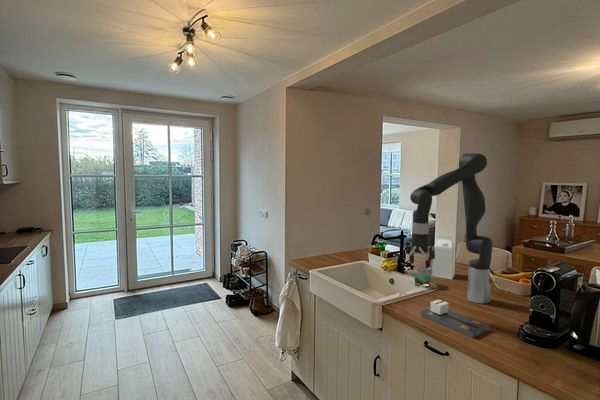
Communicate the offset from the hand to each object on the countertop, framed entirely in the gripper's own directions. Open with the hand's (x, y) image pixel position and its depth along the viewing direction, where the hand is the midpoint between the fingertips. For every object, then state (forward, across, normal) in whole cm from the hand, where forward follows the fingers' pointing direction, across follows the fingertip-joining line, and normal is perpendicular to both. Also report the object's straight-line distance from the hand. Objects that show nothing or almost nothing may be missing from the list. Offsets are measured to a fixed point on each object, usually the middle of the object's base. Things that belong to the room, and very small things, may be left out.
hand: (419, 265), depth 153 cm
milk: (+22, -23, +57) cm, 65 cm away
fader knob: (+18, +11, -1) cm, 21 cm away
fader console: (+21, +18, -1) cm, 28 cm away
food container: (+22, -17, +30) cm, 40 cm away
